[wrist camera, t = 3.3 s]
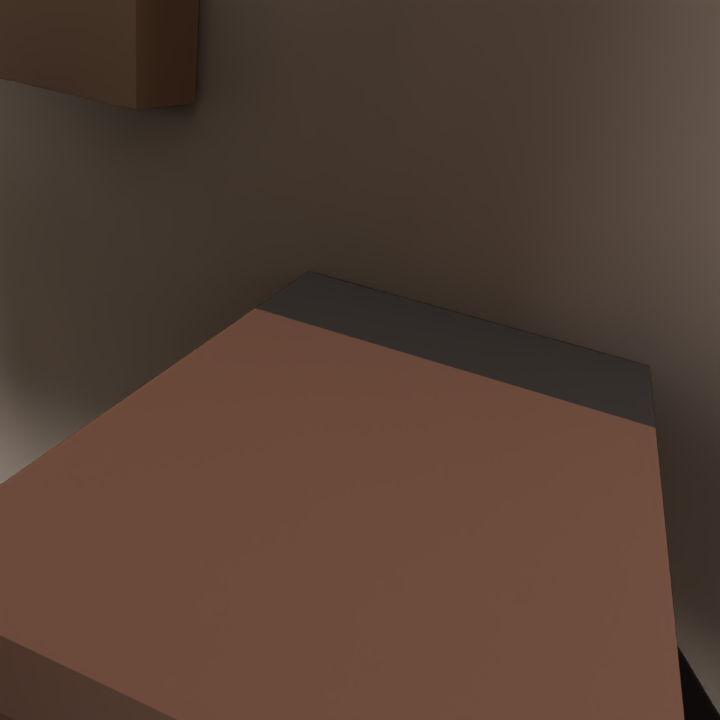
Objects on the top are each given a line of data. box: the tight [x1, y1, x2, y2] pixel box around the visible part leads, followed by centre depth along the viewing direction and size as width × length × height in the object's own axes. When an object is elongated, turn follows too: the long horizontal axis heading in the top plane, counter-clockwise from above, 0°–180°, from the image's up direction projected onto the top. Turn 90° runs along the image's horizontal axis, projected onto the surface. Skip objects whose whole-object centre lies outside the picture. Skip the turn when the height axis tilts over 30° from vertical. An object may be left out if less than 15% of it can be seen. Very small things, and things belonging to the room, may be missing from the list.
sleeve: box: [0, 271, 684, 720], centre depth 7 cm, size 4×4×6 cm
